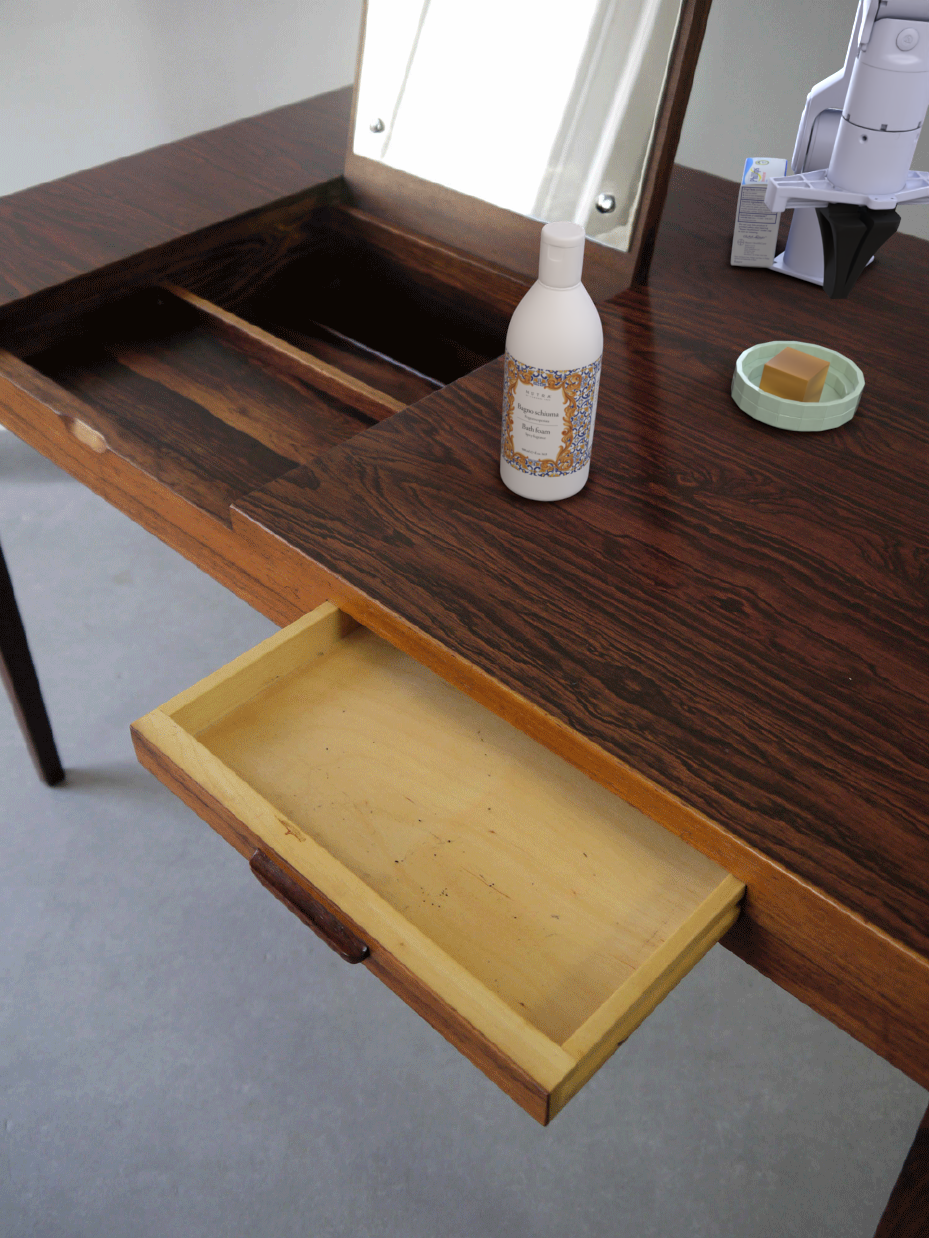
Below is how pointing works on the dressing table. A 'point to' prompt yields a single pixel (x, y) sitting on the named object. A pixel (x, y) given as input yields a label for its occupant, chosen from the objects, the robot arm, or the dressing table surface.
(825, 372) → the block
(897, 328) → the dressing table surface
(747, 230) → the medicine box
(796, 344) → the bowl
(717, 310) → the dressing table surface
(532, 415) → the bath foam
